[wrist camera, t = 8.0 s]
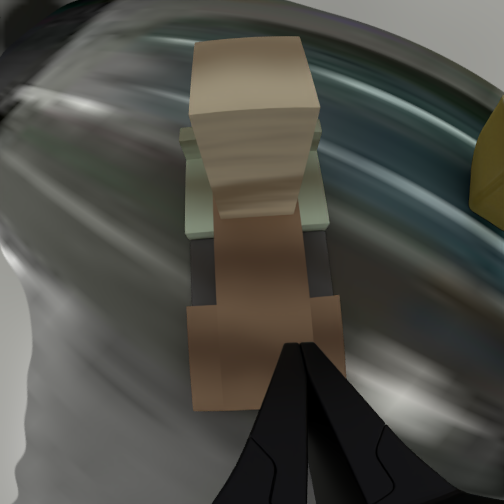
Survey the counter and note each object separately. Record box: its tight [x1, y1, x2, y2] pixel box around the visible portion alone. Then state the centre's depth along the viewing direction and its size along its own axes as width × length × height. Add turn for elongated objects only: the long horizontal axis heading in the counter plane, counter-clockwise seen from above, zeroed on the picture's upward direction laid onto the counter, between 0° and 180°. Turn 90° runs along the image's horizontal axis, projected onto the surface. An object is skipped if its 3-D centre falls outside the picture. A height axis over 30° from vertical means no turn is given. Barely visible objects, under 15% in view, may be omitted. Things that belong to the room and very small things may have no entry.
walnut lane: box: [179, 119, 346, 411], centre depth 20 cm, size 19×10×4 cm, turn 4°
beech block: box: [189, 36, 320, 219], centre depth 17 cm, size 5×5×11 cm
